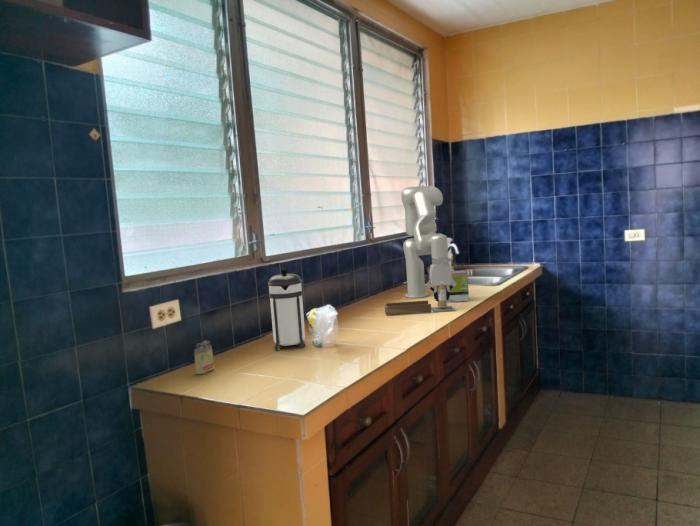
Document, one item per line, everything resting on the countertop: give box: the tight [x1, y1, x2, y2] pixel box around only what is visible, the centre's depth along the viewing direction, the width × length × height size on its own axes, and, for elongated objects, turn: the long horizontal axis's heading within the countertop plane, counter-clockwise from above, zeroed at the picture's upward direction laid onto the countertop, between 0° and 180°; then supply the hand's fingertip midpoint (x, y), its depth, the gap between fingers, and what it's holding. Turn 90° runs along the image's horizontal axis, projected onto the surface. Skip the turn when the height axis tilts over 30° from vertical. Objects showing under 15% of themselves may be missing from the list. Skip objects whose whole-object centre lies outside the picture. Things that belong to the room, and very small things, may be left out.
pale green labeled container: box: [194, 339, 215, 375], centre depth 183 cm, size 7×4×10 cm, turn 153°
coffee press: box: [267, 267, 306, 351], centre depth 209 cm, size 17×16×30 cm
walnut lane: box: [383, 300, 432, 317], centre depth 258 cm, size 10×21×4 cm, turn 90°
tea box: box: [446, 269, 470, 303], centre depth 279 cm, size 15×10×15 cm, turn 84°
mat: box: [431, 305, 456, 313], centre depth 258 cm, size 10×10×1 cm
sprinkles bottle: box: [437, 281, 448, 308], centre depth 258 cm, size 5×5×14 cm
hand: (442, 299), depth 258 cm, fingers closed on sprinkles bottle, 4 cm apart
